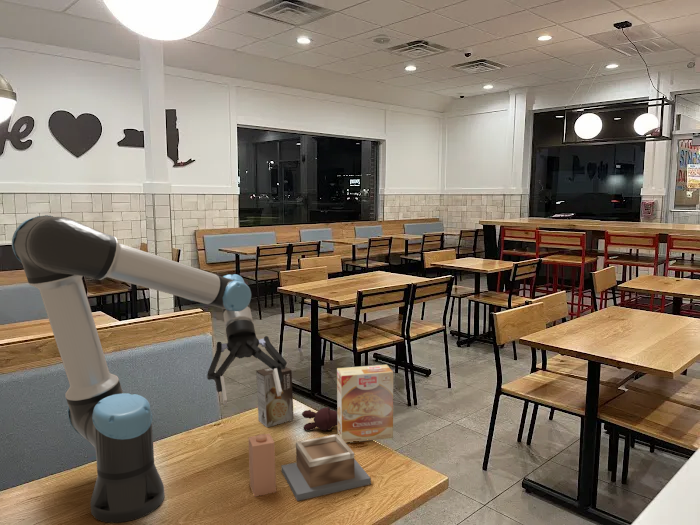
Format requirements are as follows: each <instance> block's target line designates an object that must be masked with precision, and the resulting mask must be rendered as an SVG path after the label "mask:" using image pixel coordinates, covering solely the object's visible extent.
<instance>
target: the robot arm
mask: <svg viewBox="0 0 700 525" xmlns="http://www.w3.org/2000/svg"><path fill="white" fill-rule="evenodd" d="M11 248H12V251H13V254H14V255H15V258H16V259H17V260H18V261H19V262H20V263H21V264H22V266H23V270H24V274H25V277H26V279H27V283H28V285H30V286H32V287H34V288H36V289H38V290H39V294H40V296H41V299H42V303H43V306H44V309H45V312H46V315H47V318H48V322H49V324H50V327H51V330H52V334H53V336H54V340H55V343H56V347H57V348H58V349H57V350H58V352H59V355H60V358H61V361H62V365H63V367H64V371H65V374H66V377H67V380H68V384H69V387H68V389H67V391H66V392H65V394H64V395H65V396H64V397H65V399H66V403H67V408H66V413H67V414H66V415H67V419H68V422H69V425H70V426H71V427H72V429H73V430H74V432H76V433H77V434H79V435H80V436H81V437H83V438H84V439H85V440H86V441H87V442H88V443H89V444H91V445H92V446H93V448H94V450H95V459H96V468H97V469H96V473H97V475H96V476H97V477H96V480H95V484H94V487H93V490H92V491H93V492H92V494H91V498H90V512H91V515H93V516H94V517H95V518H96V519H95V518H94V517H93V516H92V517H93V518H94V519H95V520H97V519H98V520H97V521H99V520H101V521H100V522H103V521H104V522H103V523H110V522H113V523H112V524H115V523H124V522H129V521H133V520H137V519H140V518H142V517H144V516H147V515H148V514H150V513H152V512H153V511H155V510H156V509H157V508H159V507H160V505H161V504H162V503H163V501H164V499H165V485H164V482H163V480H162V478H161V476H160V473H159V471H158V469H157V467H156V465H155V453H154V452H155V451H154V434H153V430H154V429H153V412H152V409H151V403H150V402H149V400H148V399H147V398H146V397H144V396H143V395H140V394H137V393H134V394H131V393H127V392H126V393H125V392H123V388H122V385H121V382H120V379H119V377H118V375H116V374H114V373H111V372H110V370H109V367H108V364H107V360H106V357H105V356H106V355H105V353H104V350H103V347H102V344H101V339H100V336H99V334H98V330H97V329H98V328H97V327H96V322H95V319H94V315H93V313H92V309H91V306H90V302H89V300H88V296H87V293H86V289H85V285H84V282H83V277H85V278H86V277H87V278H91V279H95V280H99V281H101V280H103V279H106V278H110V279H114V280H117V281H120V282H124V283H128V284H132V285H136V286H139V287H143V288H146V289H150V290H154V291H158V292H162V293H165V294H168V295H172V296H176V297H180V298H183V299H185V300H189V301H191V302H198V303H200V304H204V305H207V306H212V307H215V308H216V307H217V308H219V309H221V310H222V316H223V321H224V327H225V333H226V338H227V343H225V342H224V343H222V342H221V341H217V342H216V347H215V349H216V350H215V353H214V356H213V358H212V361H211V364H210V366H209V369H208V370H207V373H206V374H207V376H206V378H207V380H209V381H210V380H214V382H215V389H216V392H217V393H220V392H221V398H222V404H223V406H226V405H227V404H228V396H227V389H226V382H225V377H224V374H225V373H226V371H227V370H228V368H229V366H230V365H231V364H232V362H234V360H235V359H236V358H238V359H243V358H251V357H252V356H253V357H254V358H256V359H258V360H260V361H261V362H262V363H263V364H264V365H265V366H267V367H268V368H271V369H273V370H274V371H273V378H274V382H275V387H276V392H277V396H281V393H282V389H281V384H280V383H281V382H282V380H283V376H282V372H281V370H282V369H285V367H287V363H288V362H287V361H286V359H285V358H284V357H283V355H281V353H280V352H279V350H277V349H276V347H275V346H274V345H273V344H272V343H271V340H270V338H269V336H268V335H265V336H263V338H261V339H258V338H257V335H256V334H257V333H256V330H255V325H254V320H253V316H252V310H251V306H250V303H251V299H252V291H251V288H250V287H249V285H248V284H246V282H245V280H244V278H243V277H242V276H241V275H239V274H236V273H234V274H226V275H223V276H221V275H218V274H215V273H213V272H209V271H206V270H203V269H200V268H197V267H193V266H190V265H187V264H184V263H181V262H178V261H175V260H173V259H168V258H166V257H163V256H160V255H157V254H154V253H150V252H147V251H144V250H141V249H138V248H136V247H132V246H129V245H126V244H123V243H120V242H119V241H118V239H117V237H116V236H115V235H111V234H108V233H105V232H102V231H100V230H97V229H95V228H92V227H90V226H89V225H86V224H85V223H82V222H79V221H77V220H75V219H72V218H69V217H64V216H53V215H48V214H45V215H37V216H35V217H31V218H28V219H27V220H24V221H23V222H21V224H19V225H18V226H17V227H16V229H15V231H14V233H13V234H12V238H11ZM259 345H260V346H261V347H262V348H264V350H265V351H266V352H267V353H268V354H269V355H268V354H267V353H265V352H264V351H263V350H262V349H261V347H259ZM225 350H227V351H229V353H228V356H227V357H226V358H225V360H224V361H223V363H221V366H220V367H219V368H218V369H217V366H218V364H219V361H220V359H221V355H222V353H224V351H225ZM216 369H217V371H216ZM114 522H115V523H114Z"/></svg>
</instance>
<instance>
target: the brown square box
mask: <svg viewBox="0 0 700 525" xmlns="http://www.w3.org/2000/svg"><path fill="white" fill-rule="evenodd" d="M295 453H296V455H295V456H296V460H295V461H296V462H297V467H298V469H299V470H300V472H301V474H302V475H303V477H304V479H305V480H306V482H307V484H308V485H309V487H310V488H312V487H317V486H321V485H326V484H330V483H335V482H339V481H344V480H348V479H353V478H355V468H354V459H355V452H354V451H353V450H352V449H351V447H350V446H349V445H348V443H345V442H344V441H343V439H342V438H341V437H340V436H339V435H338V433H337V434H331V435H326V436H325V435H324V436H320V437H314V438H309V439H308V438H307V439H304V440H299V441H295Z"/></svg>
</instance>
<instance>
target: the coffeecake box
mask: <svg viewBox="0 0 700 525" xmlns="http://www.w3.org/2000/svg"><path fill="white" fill-rule="evenodd" d="M336 384H337V385H336V391H337V392H336V400H337V402H336V403H337V407H336V408H337V409H336V411H337V425H336V427H337V434H339V436H340V437H341V438H342V439H343V441H344V442H345V443H346V442H350V443H354V442H353V441H359V442H366V441H374V440H375V441H376V440H385V439H393V438H394V371H393V369H391V368H390V367H389V365H388V364H376V365H364V366H362V365H361V366H352V367H351V366H349V367H337V368H336ZM367 439H368V440H367ZM370 439H371V440H370ZM346 444H347V443H346Z"/></svg>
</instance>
